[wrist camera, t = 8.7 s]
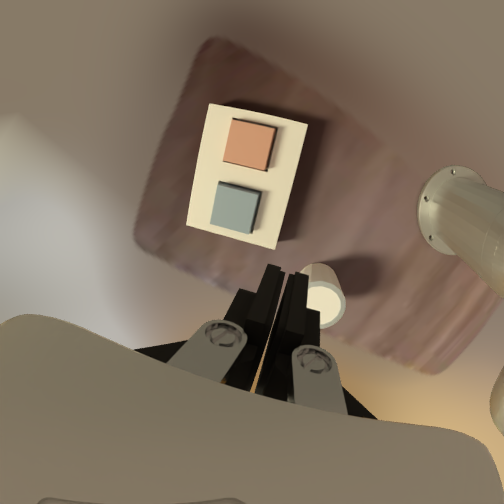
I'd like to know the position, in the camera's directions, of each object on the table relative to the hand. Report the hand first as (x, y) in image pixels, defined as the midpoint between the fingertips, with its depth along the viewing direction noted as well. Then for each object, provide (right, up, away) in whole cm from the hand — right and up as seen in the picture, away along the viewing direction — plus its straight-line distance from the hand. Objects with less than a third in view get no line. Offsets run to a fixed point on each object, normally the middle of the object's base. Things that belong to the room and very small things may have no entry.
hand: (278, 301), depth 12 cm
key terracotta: (-1, +15, +23) cm, 28 cm away
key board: (-2, +12, +27) cm, 29 cm away
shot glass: (+8, -2, +30) cm, 32 cm away
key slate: (-3, +8, +26) cm, 28 cm away
